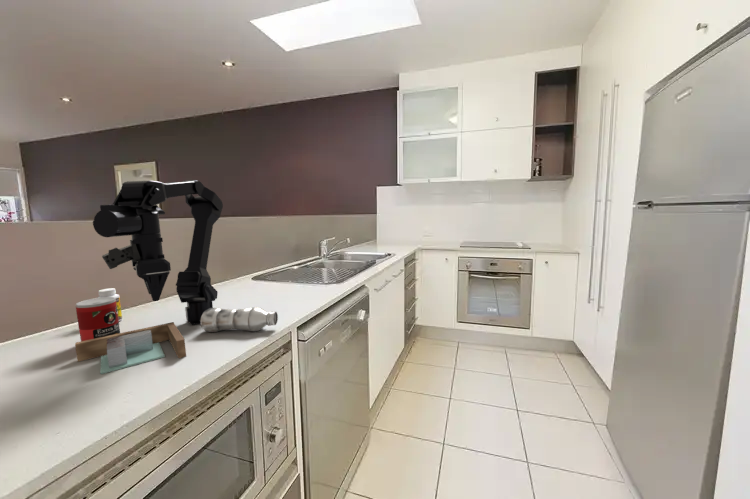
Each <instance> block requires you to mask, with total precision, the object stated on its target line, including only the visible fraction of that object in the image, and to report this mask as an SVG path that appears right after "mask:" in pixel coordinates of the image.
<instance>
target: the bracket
mask: <svg viewBox="0 0 750 499" xmlns="http://www.w3.org/2000/svg"><path fill="white" fill-rule="evenodd" d="M149 350H153V343H152V334H151V331H150V330H147V331H142V332H137V333H133V334H128V335H123V336H118V337H114V338H109V339H107V356H108V363H109V368H112V367H116V366H120V365H124V364H127V356H128V355H132V354H136V353H140V352H144V351H149Z"/></svg>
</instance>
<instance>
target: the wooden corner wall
mask: <svg viewBox="0 0 750 499" xmlns="http://www.w3.org/2000/svg"><path fill="white" fill-rule="evenodd" d="M147 330H150V331H151V334H152V343H153V344H154V343H158V342H159V343H162V342H166V341H169V342H170V345H171V347H172V348H173V350H174V352H175V354H176V356H177V358H178V359H181V358H186V357H187V350H186V342H185V341H186V340H185V338H184V336H183V335H182V333H181V332H180V330H179V329H178V327H177V325H176V324H175V322H174V321H173V322H167V323H162V324H158V325H152V326H149V327H143V328H139V329H134V330H129V331H124V332H120V333H119V334H114V335H109V336H105V337H100V338H95V339H90V340H86V341H81V340H80V341H77V342H76V341H75V344H74V345H75V346H74V347H75V352H76V359H77V362H83V361H86V360H90V359H94V358H101V356H104V355H107V339H109V338H114V337H118V336H123V335H128V334H133V333H137V332H142V331H147Z"/></svg>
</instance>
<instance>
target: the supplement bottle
mask: <svg viewBox="0 0 750 499" xmlns="http://www.w3.org/2000/svg"><path fill="white" fill-rule="evenodd" d="M101 297H114V298H115V299H116V304H117V311H118V319H119V322H121V321H122V320H123V314H122V306H121V305H122V304H121V298H120V294H117V291H116V288H114V287H113V288H112V287H110V288H103V289H100V290H98V297H96V298H101Z"/></svg>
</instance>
